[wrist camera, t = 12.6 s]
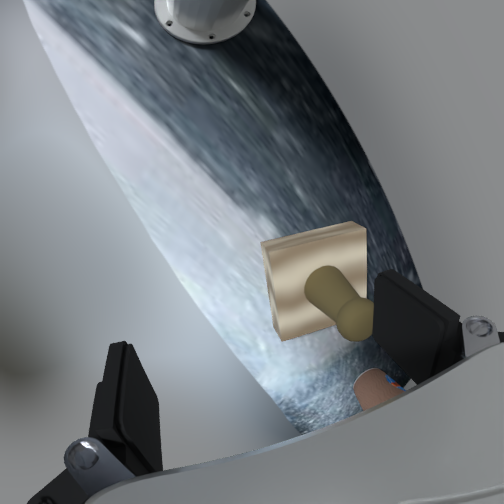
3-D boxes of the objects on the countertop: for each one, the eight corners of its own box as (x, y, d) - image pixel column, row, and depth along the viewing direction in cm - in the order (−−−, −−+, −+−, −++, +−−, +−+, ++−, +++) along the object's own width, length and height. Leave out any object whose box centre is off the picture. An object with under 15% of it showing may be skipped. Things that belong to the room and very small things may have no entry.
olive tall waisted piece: (350, 280, 44) (395, 318, 34) (322, 312, 45) (360, 356, 34) (325, 256, 41) (370, 293, 31) (295, 291, 42) (331, 336, 32)
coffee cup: (390, 378, 61) (420, 412, 50) (352, 405, 61) (378, 443, 50) (382, 352, 57) (416, 388, 46) (339, 381, 57) (368, 423, 46)
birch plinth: (260, 242, 43) (269, 252, 39) (351, 220, 45) (366, 228, 42) (273, 327, 48) (281, 341, 45) (353, 302, 51) (365, 313, 47)
